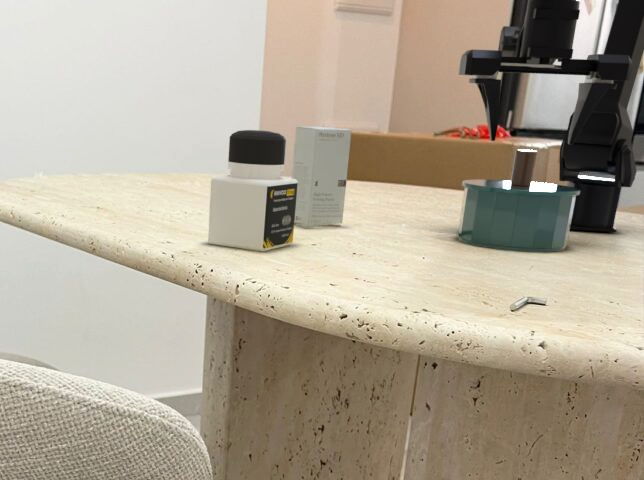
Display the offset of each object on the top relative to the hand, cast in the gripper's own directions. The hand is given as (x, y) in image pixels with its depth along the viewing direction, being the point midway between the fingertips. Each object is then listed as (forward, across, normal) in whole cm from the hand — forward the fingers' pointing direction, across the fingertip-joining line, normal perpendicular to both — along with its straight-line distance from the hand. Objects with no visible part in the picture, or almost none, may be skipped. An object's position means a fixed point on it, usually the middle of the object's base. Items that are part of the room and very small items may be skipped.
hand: (531, 142), depth 115 cm
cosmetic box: (+12, +25, -1) cm, 28 cm away
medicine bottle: (+11, +32, +19) cm, 39 cm away
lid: (+5, +1, +4) cm, 6 cm away
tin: (+12, +1, +4) cm, 12 cm away
